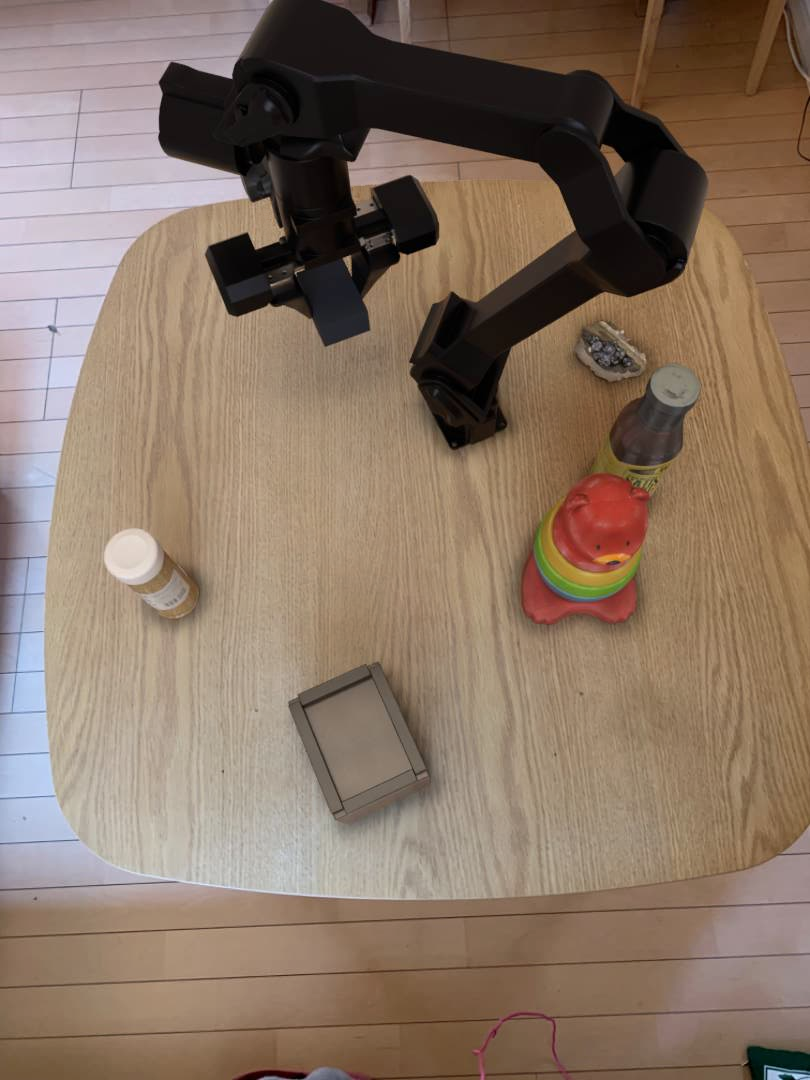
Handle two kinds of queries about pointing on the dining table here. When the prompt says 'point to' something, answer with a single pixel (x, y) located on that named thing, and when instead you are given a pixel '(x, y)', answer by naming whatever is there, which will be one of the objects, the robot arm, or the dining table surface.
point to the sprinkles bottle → (151, 572)
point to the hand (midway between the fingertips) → (334, 305)
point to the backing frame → (358, 743)
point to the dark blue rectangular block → (334, 302)
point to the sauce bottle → (650, 429)
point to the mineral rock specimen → (609, 352)
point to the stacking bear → (587, 553)
